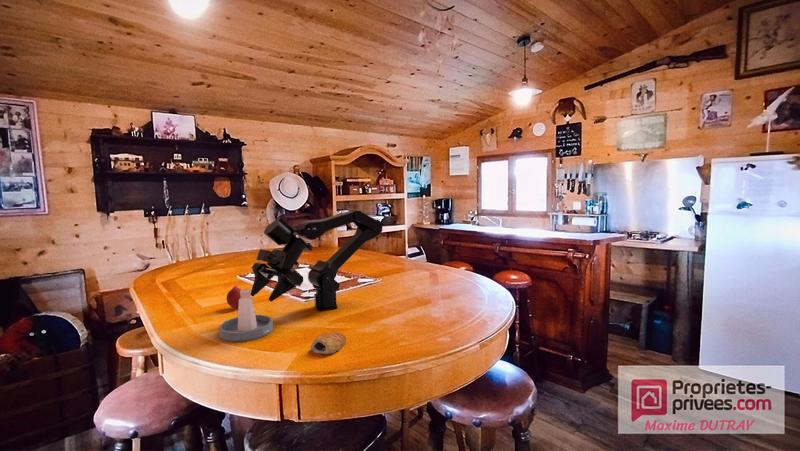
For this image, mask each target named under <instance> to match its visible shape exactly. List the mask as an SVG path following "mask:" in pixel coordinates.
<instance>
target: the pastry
mask: <svg viewBox="0 0 800 451" xmlns="http://www.w3.org/2000/svg"><path fill="white" fill-rule="evenodd" d="M346 340H347V338H346V335H345V334H343V333H340V332H330V333H324V334H321V335H319V336H316V337H315V339H314V340H313V342H312V343H311V345H310V350H311V351H312V353H315V354H323V355H332V354H335V353H336V352H337V351H340V350H341V349H342V348H344V346H345V345H346V342H347V341H346Z"/></svg>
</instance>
